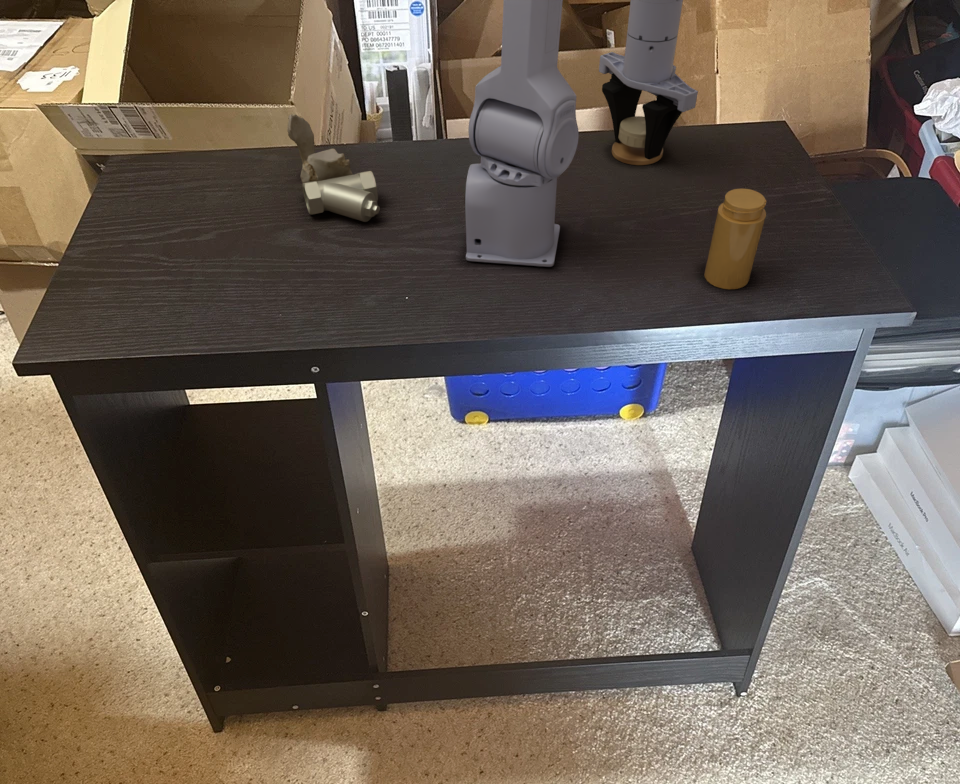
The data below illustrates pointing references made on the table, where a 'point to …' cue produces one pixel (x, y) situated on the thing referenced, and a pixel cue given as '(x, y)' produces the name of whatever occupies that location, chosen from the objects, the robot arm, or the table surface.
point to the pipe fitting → (344, 196)
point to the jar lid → (633, 131)
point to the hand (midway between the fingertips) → (637, 148)
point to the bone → (315, 154)
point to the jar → (735, 239)
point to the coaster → (632, 155)
